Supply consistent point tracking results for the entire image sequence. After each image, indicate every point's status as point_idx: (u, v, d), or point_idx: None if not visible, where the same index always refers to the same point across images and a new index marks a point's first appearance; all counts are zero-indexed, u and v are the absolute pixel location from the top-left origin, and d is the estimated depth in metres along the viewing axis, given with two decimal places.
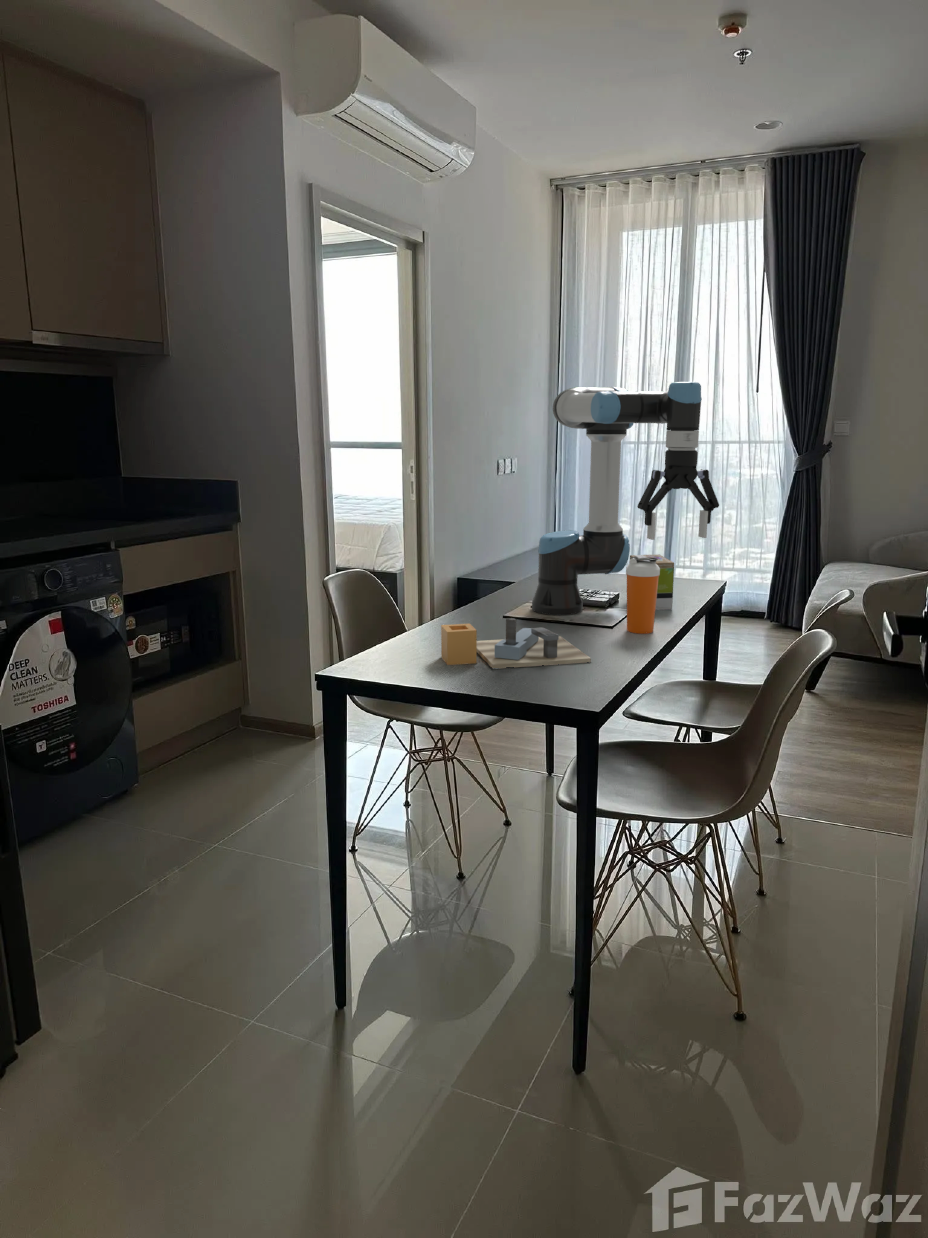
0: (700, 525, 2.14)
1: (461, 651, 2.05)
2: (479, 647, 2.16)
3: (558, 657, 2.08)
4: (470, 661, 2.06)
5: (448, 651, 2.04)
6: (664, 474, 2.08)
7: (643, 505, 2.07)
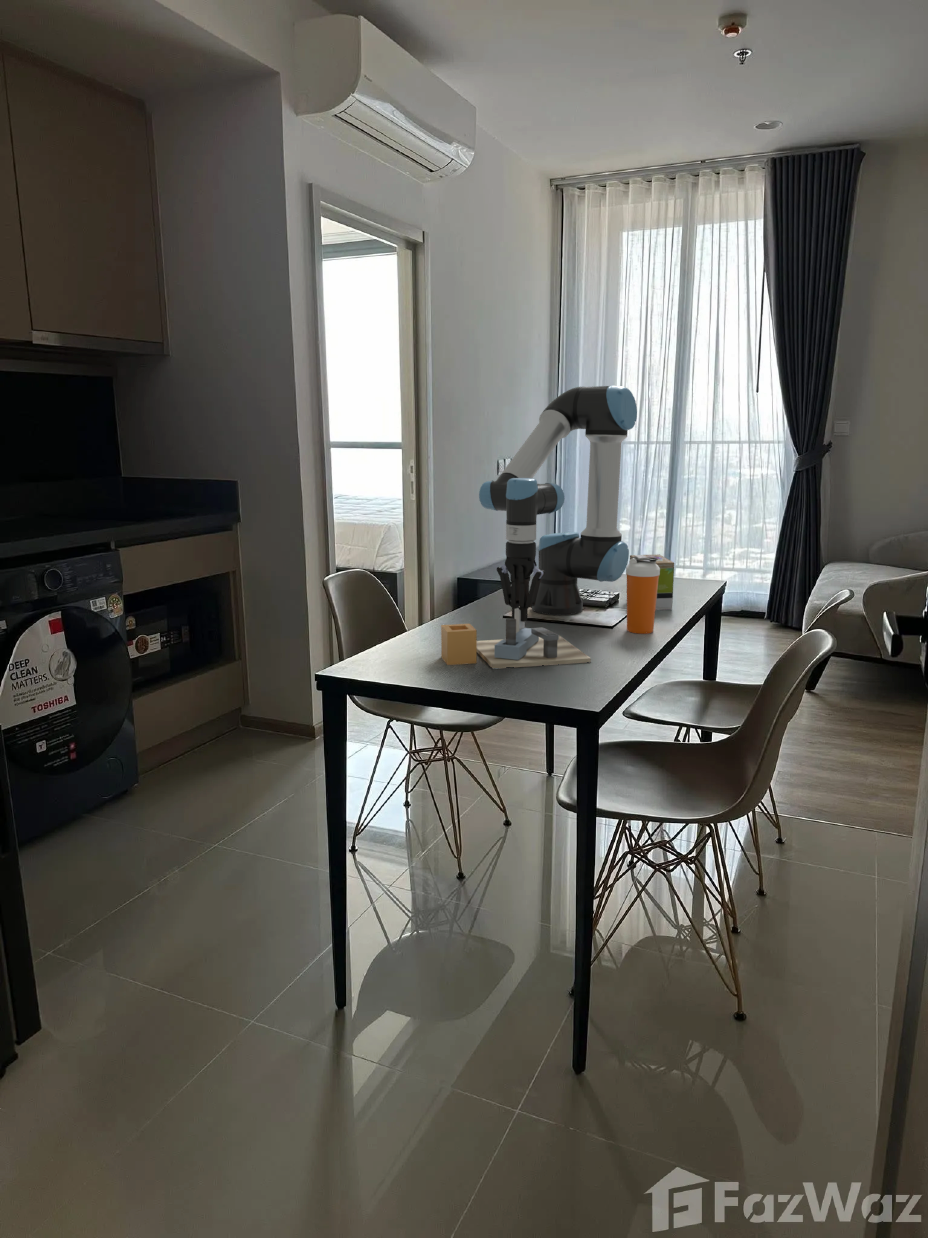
0: None
1: (461, 651, 2.05)
2: (479, 647, 2.16)
3: (558, 657, 2.08)
4: (470, 661, 2.06)
5: (448, 651, 2.04)
6: (505, 566, 2.20)
7: (505, 601, 2.22)
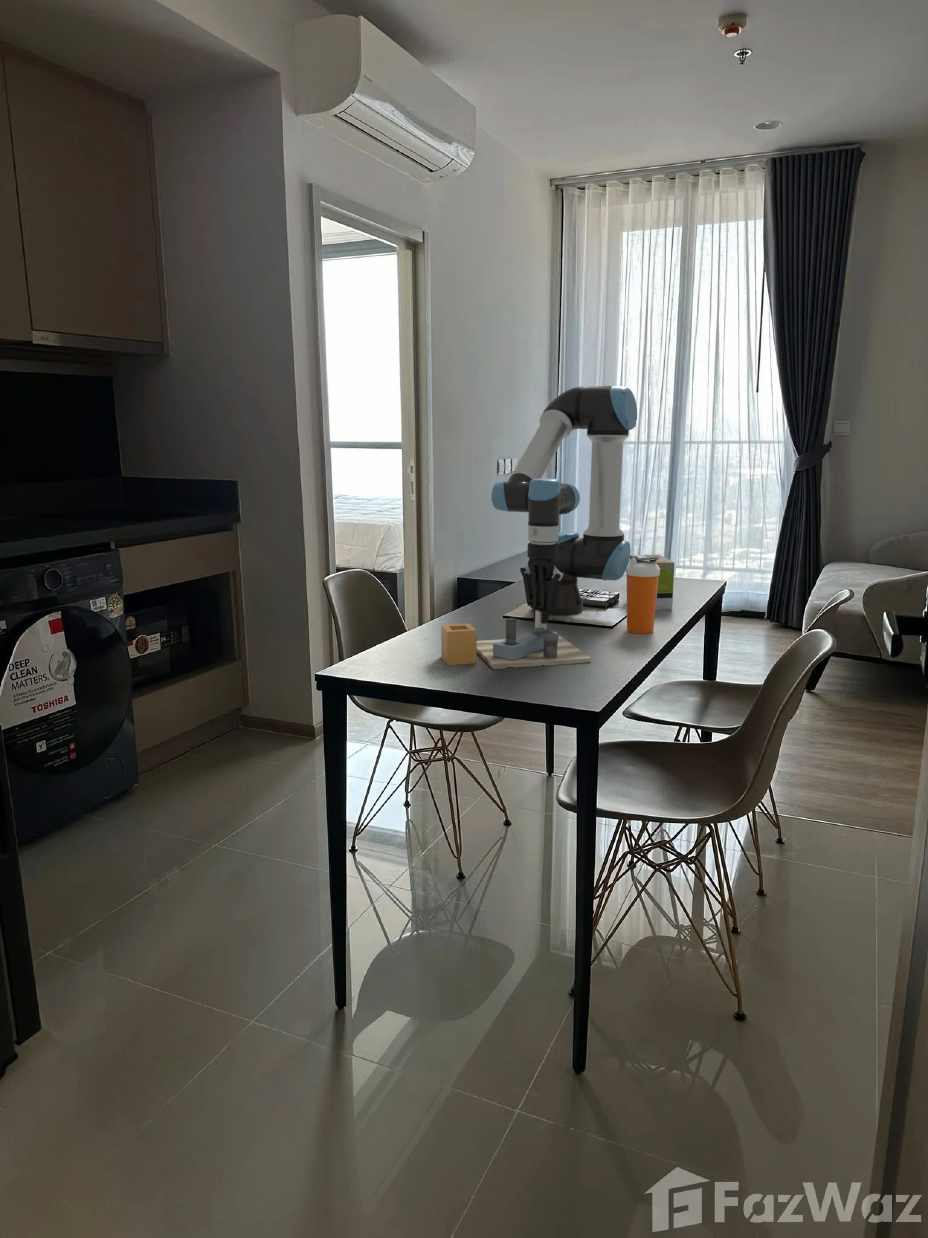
0: None
1: (461, 651, 2.05)
2: (479, 647, 2.16)
3: (558, 657, 2.08)
4: (470, 661, 2.06)
5: (448, 651, 2.04)
6: (528, 567, 2.19)
7: (527, 602, 2.20)
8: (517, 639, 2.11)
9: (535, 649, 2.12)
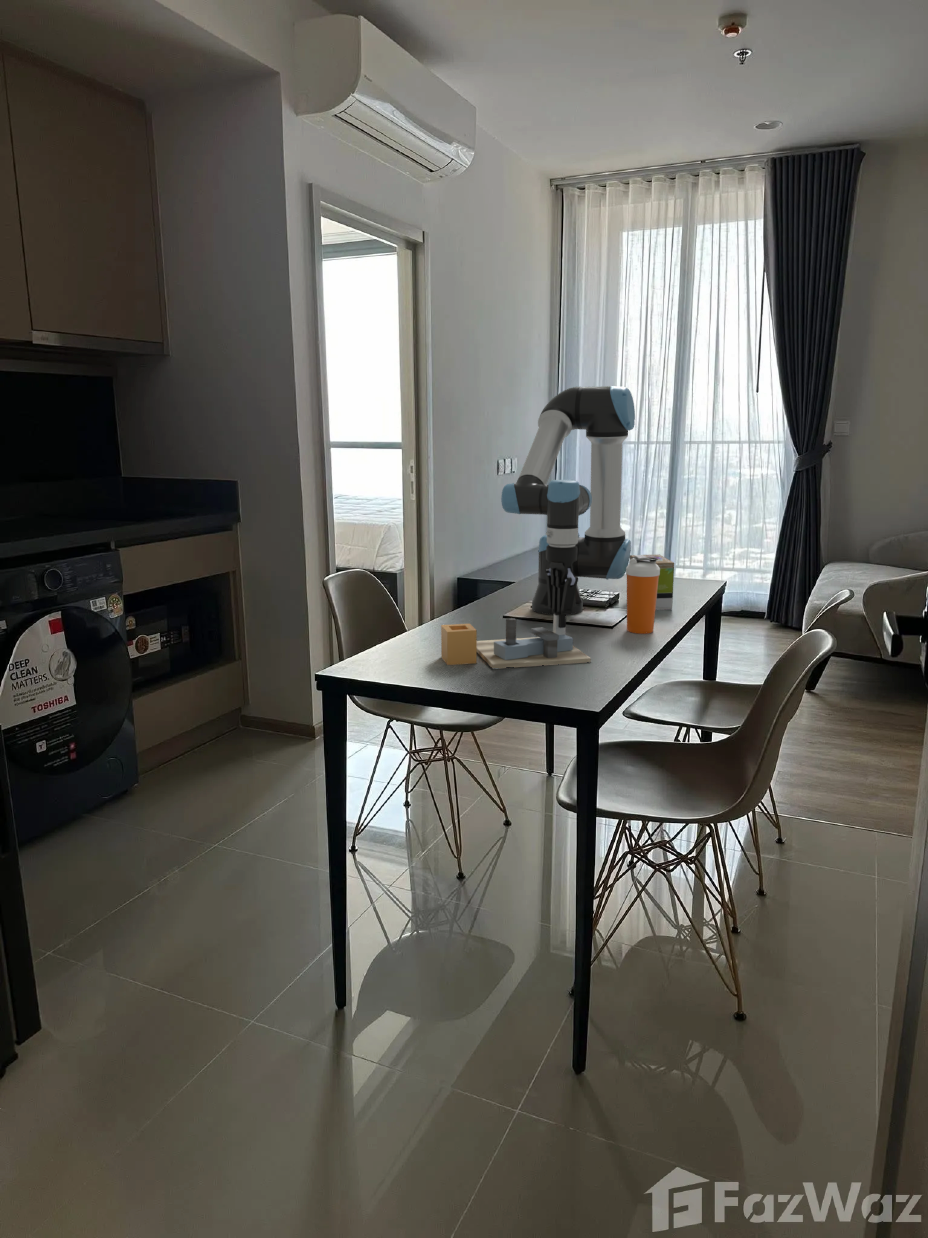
0: None
1: (461, 651, 2.05)
2: (479, 647, 2.16)
3: (558, 657, 2.08)
4: (470, 661, 2.06)
5: (448, 651, 2.04)
6: None
7: (549, 605, 2.17)
8: (522, 640, 2.10)
9: (540, 652, 2.09)
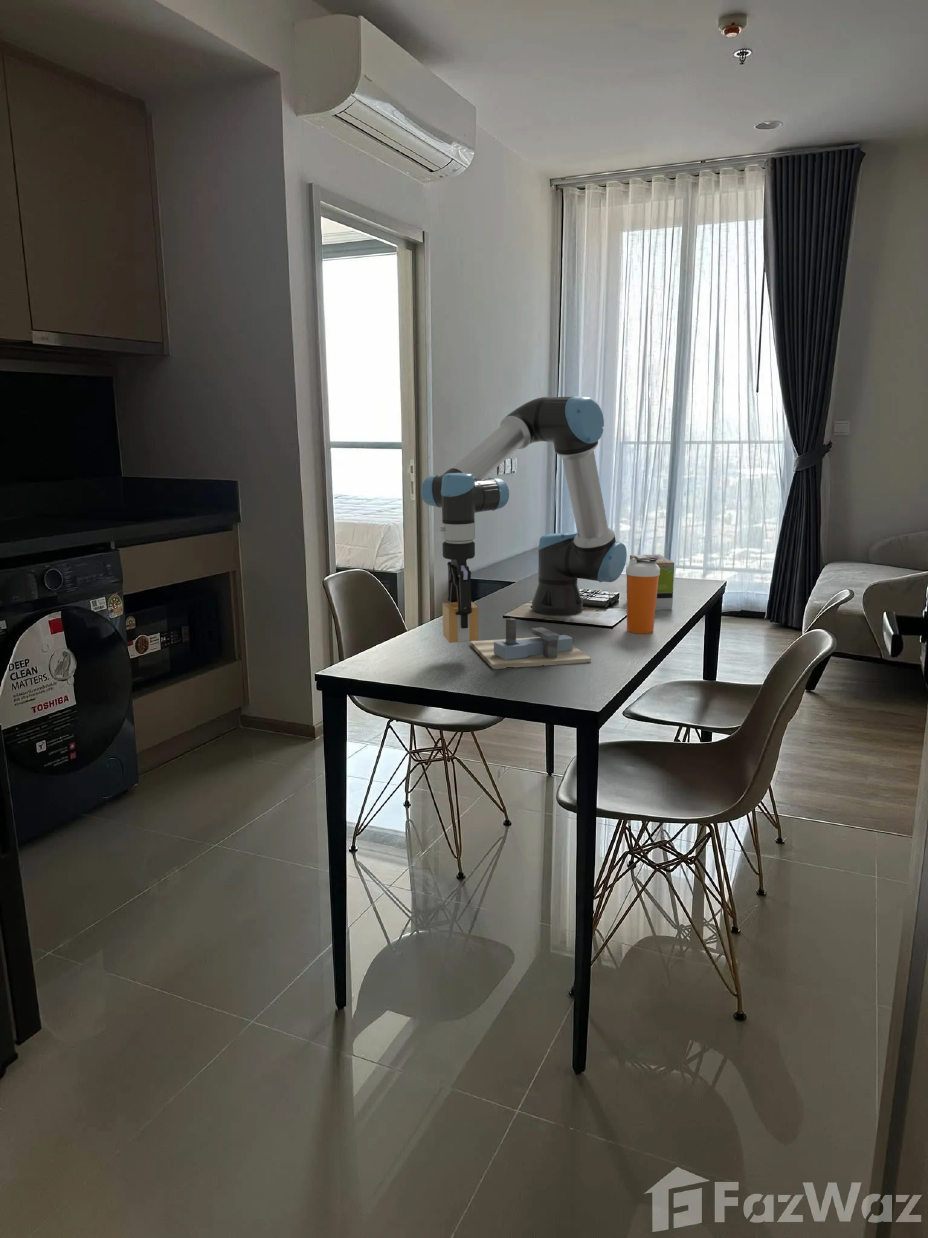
0: None
1: None
2: (479, 647, 2.16)
3: (558, 657, 2.08)
4: (472, 638, 2.05)
5: (450, 628, 2.03)
6: None
7: (448, 597, 2.12)
8: (522, 640, 2.10)
9: (540, 652, 2.09)
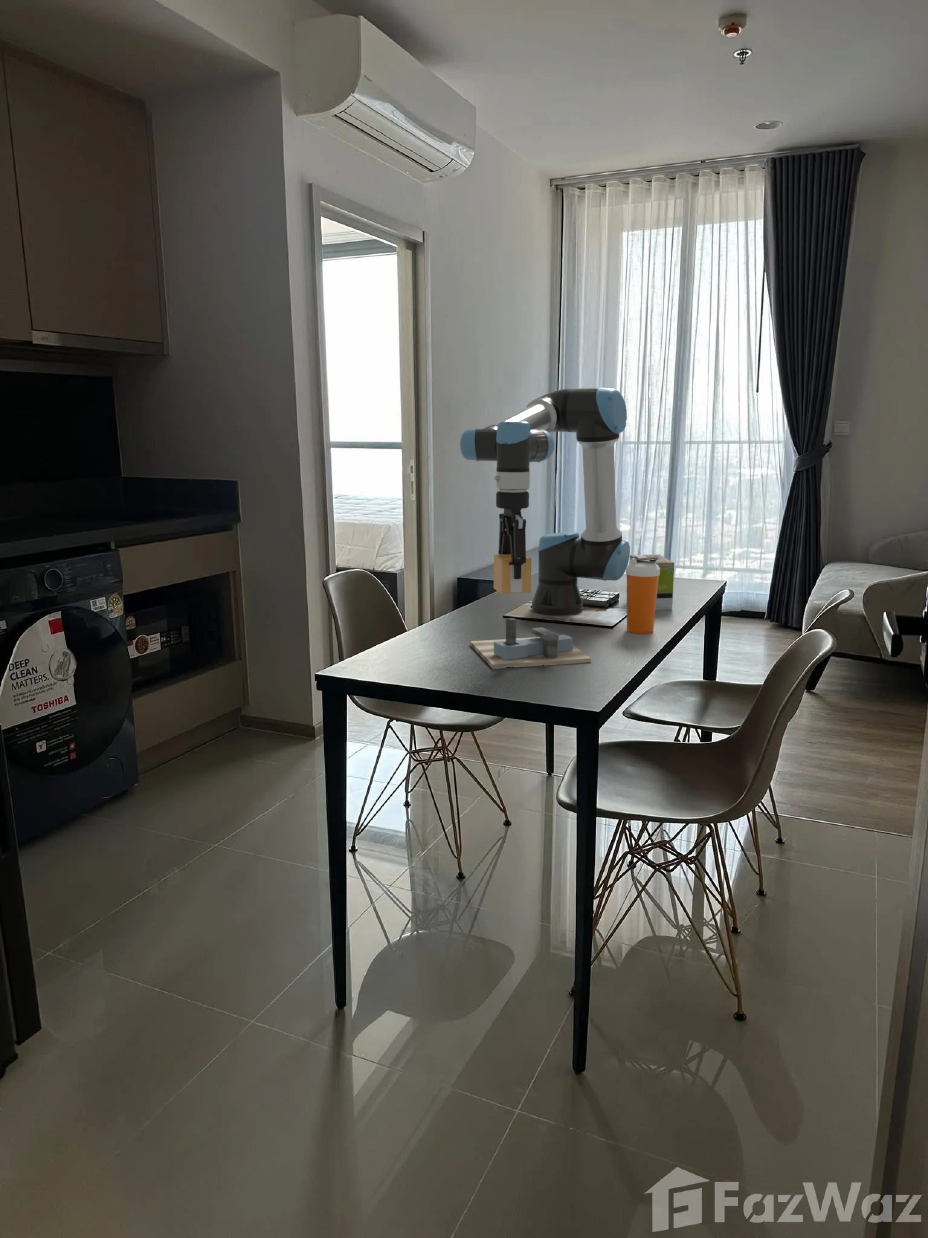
0: None
1: None
2: (479, 647, 2.16)
3: (558, 657, 2.08)
4: (524, 590, 2.02)
5: (502, 579, 2.00)
6: None
7: None
8: (522, 640, 2.10)
9: (540, 652, 2.09)
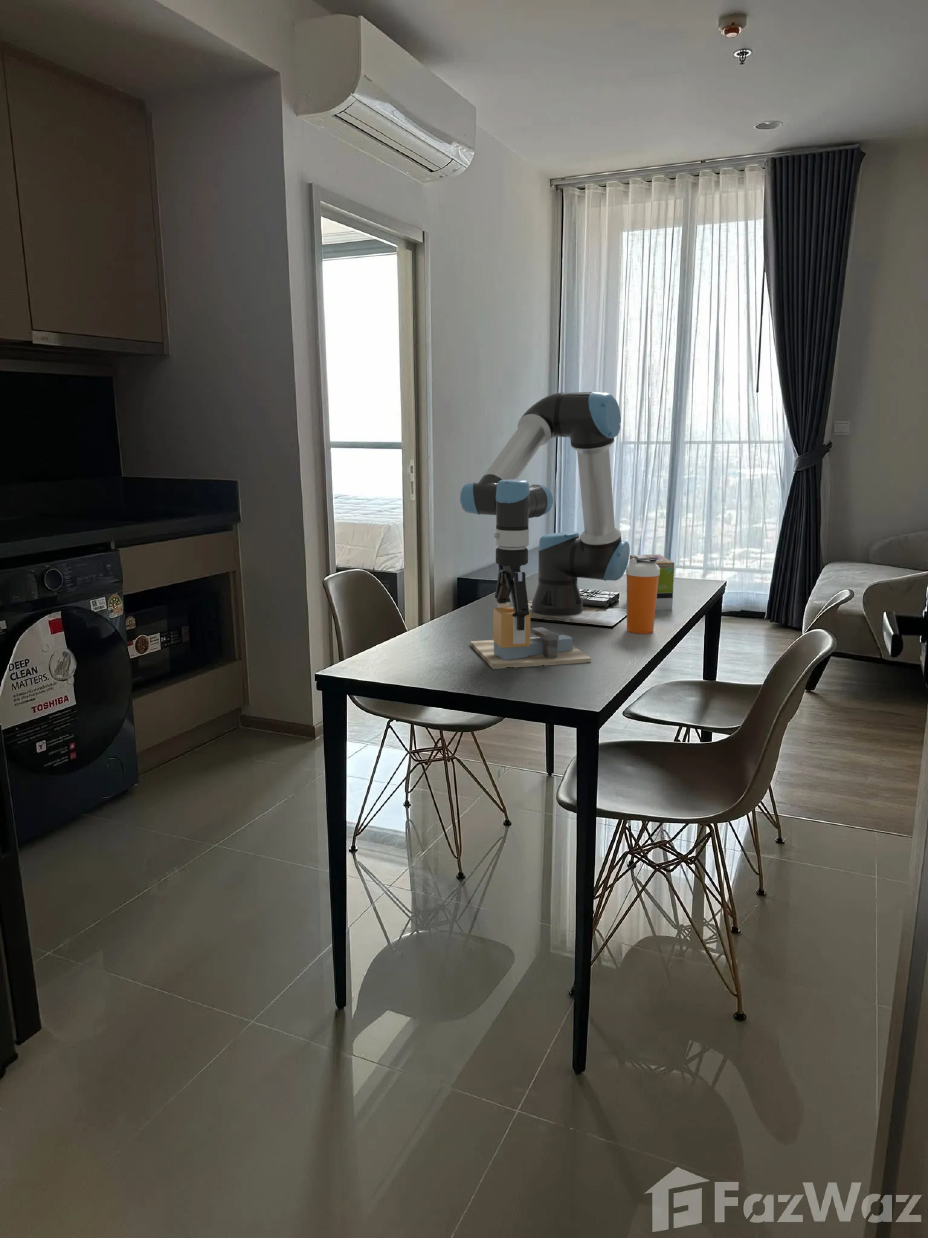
0: None
1: None
2: (479, 647, 2.16)
3: (558, 657, 2.08)
4: (524, 644, 2.05)
5: (502, 634, 2.03)
6: None
7: (495, 594, 2.14)
8: None
9: (540, 652, 2.09)
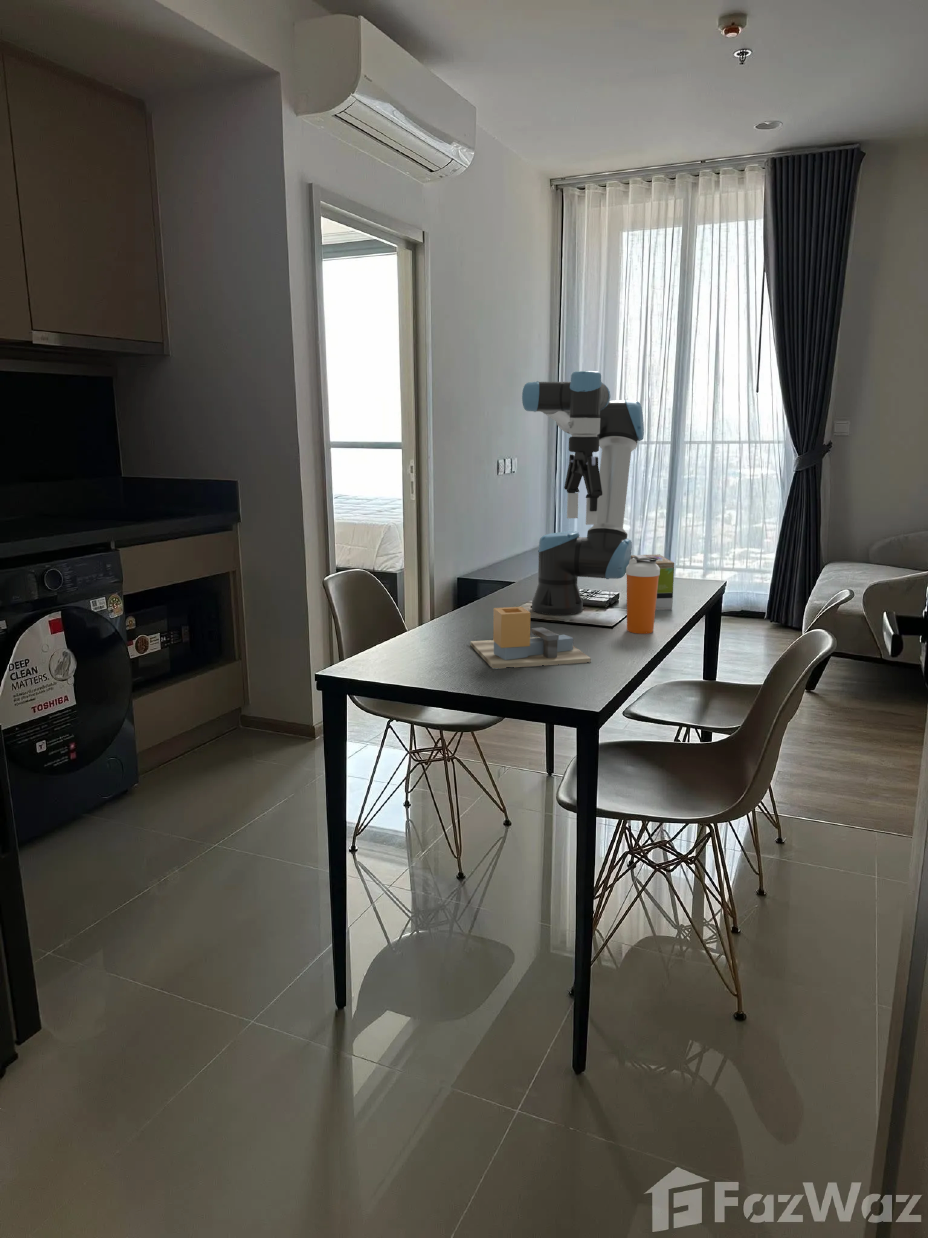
0: None
1: (515, 634, 2.04)
2: (479, 647, 2.16)
3: (558, 657, 2.08)
4: (524, 644, 2.05)
5: (502, 634, 2.03)
6: None
7: (565, 485, 2.29)
8: None
9: (540, 652, 2.09)
